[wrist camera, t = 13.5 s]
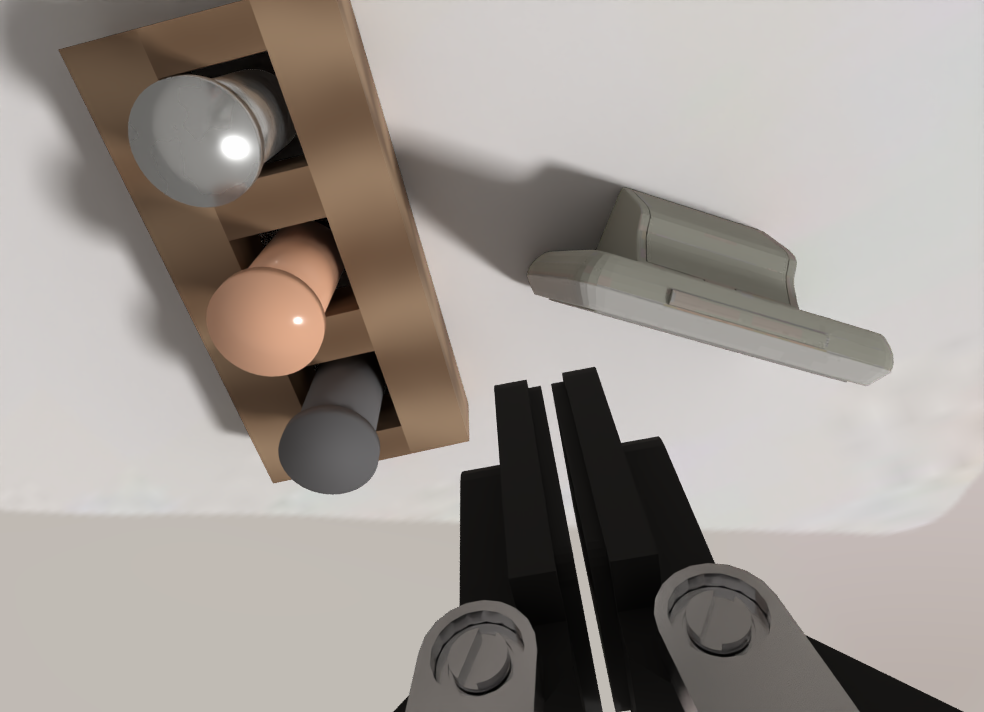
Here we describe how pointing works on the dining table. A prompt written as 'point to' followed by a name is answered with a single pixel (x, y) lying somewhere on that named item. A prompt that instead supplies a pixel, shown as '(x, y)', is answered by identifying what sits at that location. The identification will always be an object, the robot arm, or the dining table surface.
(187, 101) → the grey peg
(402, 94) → the dining table surface
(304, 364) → the terracotta peg
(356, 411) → the charcoal peg
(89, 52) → the walnut block
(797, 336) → the digital clock
